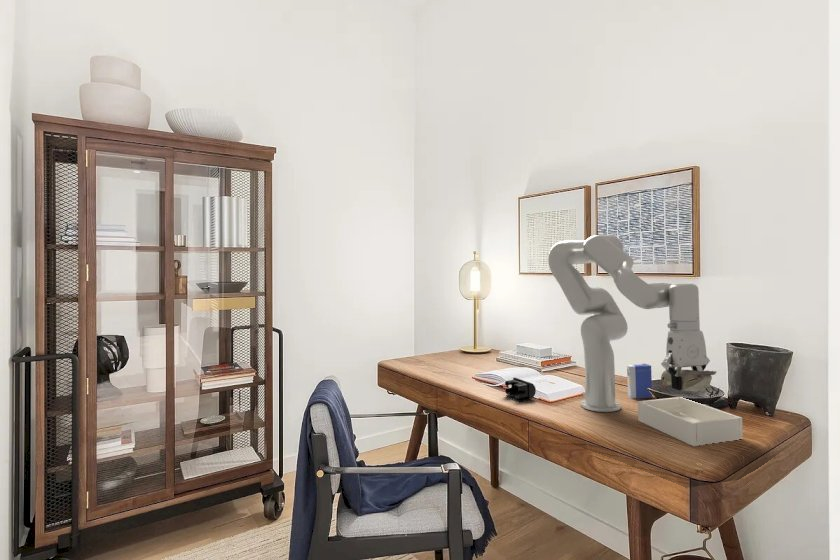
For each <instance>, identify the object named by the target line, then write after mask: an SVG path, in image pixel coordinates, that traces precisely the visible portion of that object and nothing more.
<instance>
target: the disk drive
mask: <svg viewBox="0 0 840 560" xmlns="http://www.w3.org/2000/svg"><path fill="white" fill-rule="evenodd" d="M690 394H691V393H688V394H687V395H690ZM703 405H706V406H709V407H712V408H715V409H719V408H720V407H723V406H727V405H729V398H728V397H726V396H721V398H720V399H718V400H717V401H715V402H714V403H713V404H711V405H709V404H703Z"/></svg>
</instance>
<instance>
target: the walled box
mask: <svg viewBox="0 0 840 560" xmlns="http://www.w3.org/2000/svg"><path fill="white" fill-rule="evenodd" d="M637 414H638V415H637V416H638V419H637V420H638V422H640V423H642V424H644V425H647V426H648V427H651V428H653V429H655V430H658V431H660V432H661V433H664V434H667V435H669V436H671V437H673V438H674V439H677V440H679V441H681V442H683V443H685V444H688V445H689V446H692V447H698V446H699V445H700V446H706V445H705V444H708V445H713V444H712V443H715V444H720V443H719V442H723V443H725V442H724V441H730V442H733V441H732V440H738V441H740V440H739V439H744V437H743V435H744V434H743V433H744V432H743V417H742V416H738V415H735V414H733V413H729V412H726V411H723V410H721V409H719V408H712V407H709V406H706V405H703V404H701V403H698V402H695V401H692V400H689V399H686V398H683V397H680V396H676V397H675V396H674V397H666V398H658V399H648V400H640V401H637ZM700 446H699V447H700Z"/></svg>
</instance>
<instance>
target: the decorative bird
mask: <svg viewBox="0 0 840 560" xmlns="http://www.w3.org/2000/svg"><path fill="white" fill-rule="evenodd" d="M675 371H676V368H675ZM716 374H717V371H716V370H708V369H707V370H703V371H694V370H692V369H683V368H681V372H680V375H679V376H681V379H682V390H681V391H684V392H693V393H695V392H703V391H705V390H706V391H707V392H708V393H710V394H708V395H709V396H710V398H711V395H714V396H715V395H716V396H718V395H719V393H720V388H717V390H716V389H715V388H714V387H713V386H712V385H711V383H712V382H711V381H712V379H713V376H714V375H716ZM660 380H661V384H662V387H663V388H665V387H666V386H672V384H671V375H670V374H669V372H668V371H667V370H666V369H665V370H663V372H662V373H661V377H660ZM709 387H710V388H711V389H712V390H711V391H710V390H709V389H707V388H709ZM714 392H715V393H714ZM712 397H713V396H712Z"/></svg>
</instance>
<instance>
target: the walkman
mask: <svg viewBox="0 0 840 560" xmlns="http://www.w3.org/2000/svg"><path fill="white" fill-rule="evenodd" d="M626 370H627V371H626V372H627V373H626V375H627V377H626V378H627V397H628V398H629V399H646V398H647V399H649V398H651V399H652V398H653V393H652V394H651V393H650V392H649V390H648V389H647V388H652V389H653V384H652V383H653V381H652V365H650V364H648V363H641V364H627V365H626Z"/></svg>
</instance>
